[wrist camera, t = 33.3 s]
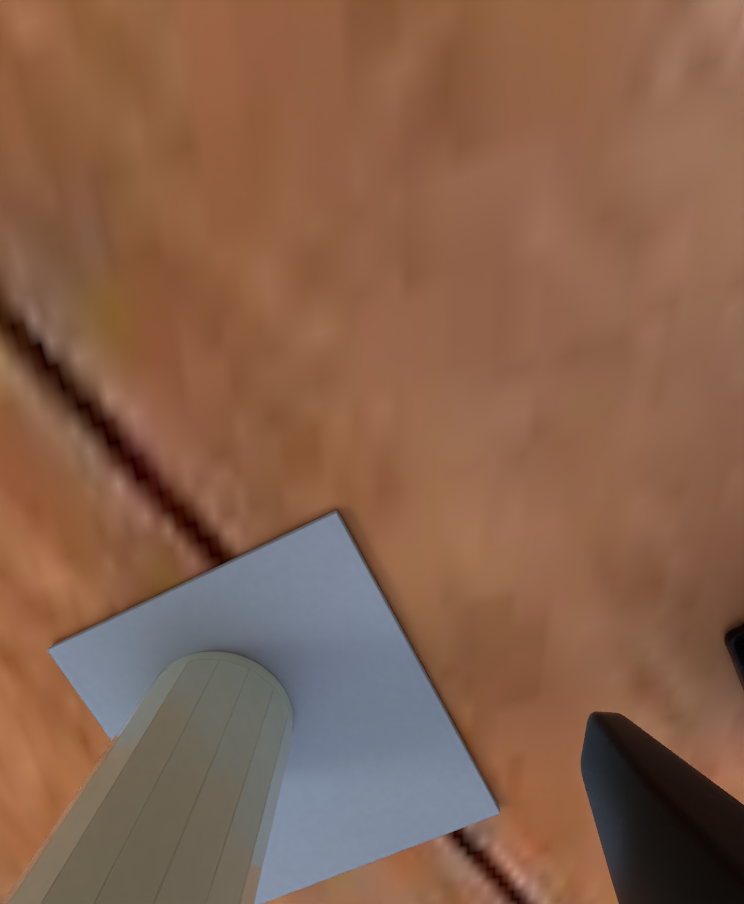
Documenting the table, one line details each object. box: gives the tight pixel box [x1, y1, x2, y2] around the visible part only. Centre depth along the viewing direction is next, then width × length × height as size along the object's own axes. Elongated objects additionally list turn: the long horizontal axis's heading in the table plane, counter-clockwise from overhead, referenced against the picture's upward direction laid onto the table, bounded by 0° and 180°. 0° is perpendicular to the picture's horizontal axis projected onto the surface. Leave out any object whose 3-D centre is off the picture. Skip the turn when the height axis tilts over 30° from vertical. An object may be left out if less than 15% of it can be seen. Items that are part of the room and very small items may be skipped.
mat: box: [48, 510, 500, 904], centre depth 23 cm, size 16×14×1 cm
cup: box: [2, 651, 294, 904], centre depth 17 cm, size 6×6×10 cm
